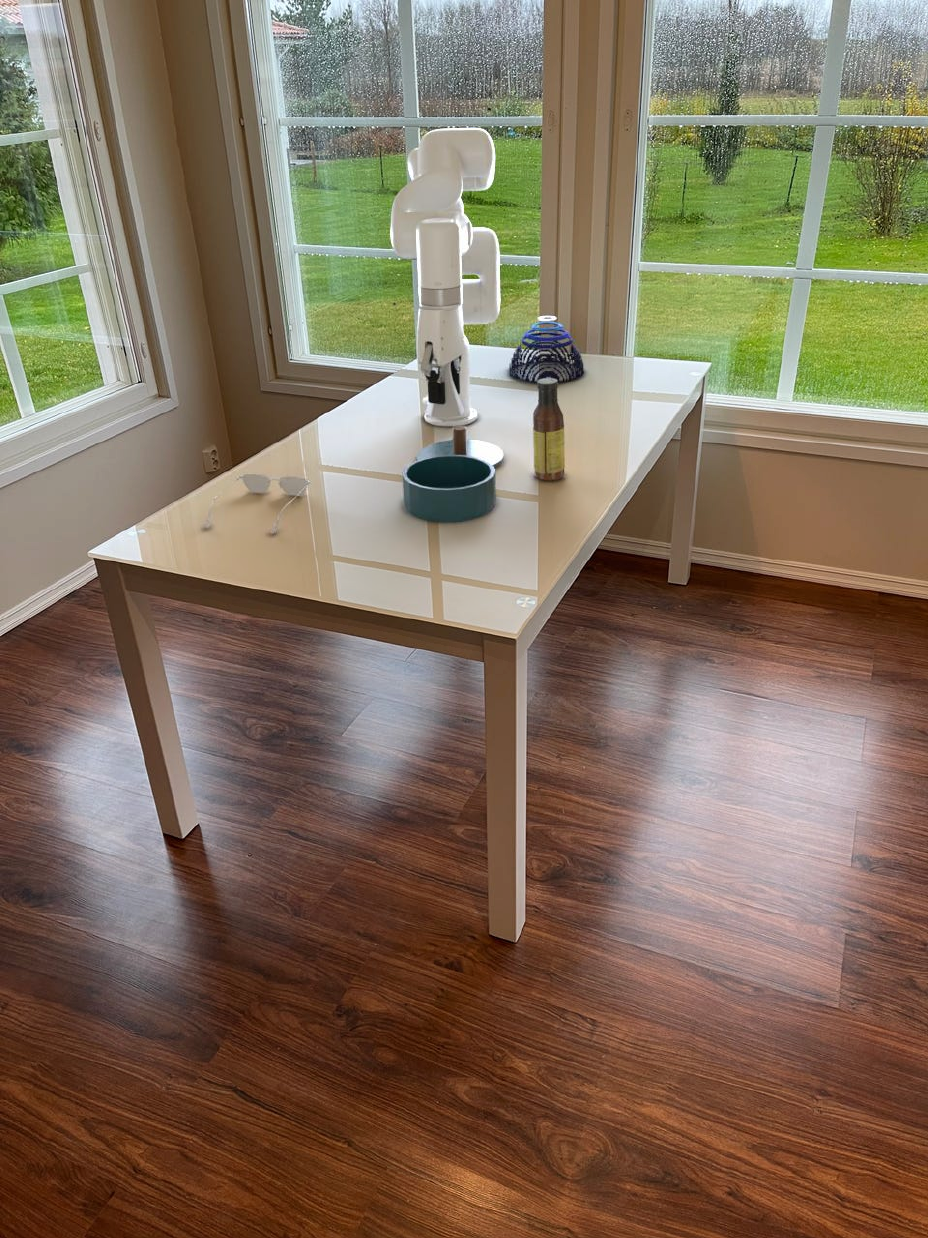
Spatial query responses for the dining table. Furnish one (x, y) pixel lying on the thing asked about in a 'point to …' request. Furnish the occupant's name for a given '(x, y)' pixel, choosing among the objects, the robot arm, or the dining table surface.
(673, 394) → the dining table surface
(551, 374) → the decorative bowl
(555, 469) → the sauce bottle
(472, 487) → the pot
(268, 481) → the eyeglasses
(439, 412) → the flask
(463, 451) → the lid
